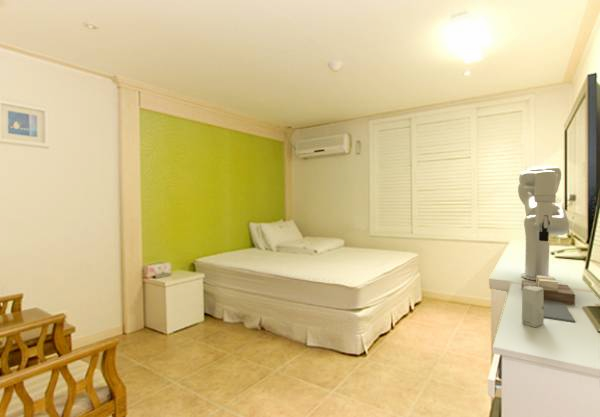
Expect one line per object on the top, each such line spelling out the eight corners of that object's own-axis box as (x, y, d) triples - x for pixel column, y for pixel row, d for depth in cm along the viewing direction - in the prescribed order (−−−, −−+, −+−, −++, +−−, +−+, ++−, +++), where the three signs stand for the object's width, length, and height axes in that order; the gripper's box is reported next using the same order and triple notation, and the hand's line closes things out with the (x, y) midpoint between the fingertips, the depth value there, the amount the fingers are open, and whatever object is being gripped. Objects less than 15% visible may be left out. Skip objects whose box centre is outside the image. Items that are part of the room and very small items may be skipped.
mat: (525, 298, 132) (526, 297, 132) (563, 303, 126) (563, 302, 126) (531, 315, 115) (531, 314, 115) (575, 322, 109) (575, 320, 109)
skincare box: (536, 328, 105) (537, 291, 104) (520, 323, 109) (521, 287, 108) (544, 323, 108) (545, 287, 108) (528, 319, 112) (529, 284, 111)
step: (521, 289, 145) (521, 280, 145) (567, 294, 137) (567, 285, 137) (524, 298, 133) (524, 288, 133) (574, 304, 125) (575, 294, 125)
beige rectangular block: (536, 283, 140) (536, 275, 139) (553, 285, 137) (553, 276, 136) (539, 289, 132) (539, 280, 132) (557, 291, 129) (557, 282, 129)
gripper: (532, 198, 150) (531, 238, 151) (536, 199, 137) (535, 242, 138) (552, 198, 147) (551, 239, 148) (558, 199, 134) (557, 243, 135)
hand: (543, 240), depth 143 cm, fingers closed
